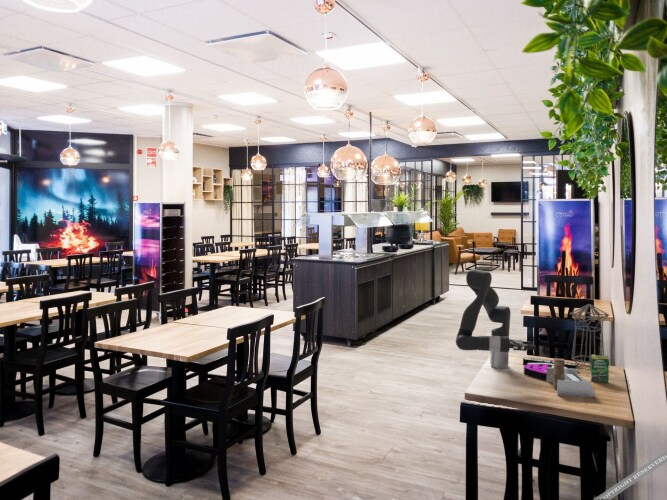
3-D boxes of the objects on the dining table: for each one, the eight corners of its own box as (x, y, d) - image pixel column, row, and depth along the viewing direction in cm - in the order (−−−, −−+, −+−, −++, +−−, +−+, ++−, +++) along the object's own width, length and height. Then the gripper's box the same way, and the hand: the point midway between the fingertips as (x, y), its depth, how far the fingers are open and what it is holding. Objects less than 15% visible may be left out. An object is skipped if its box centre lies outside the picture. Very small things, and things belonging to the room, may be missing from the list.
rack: (557, 395, 241) (558, 380, 240) (546, 381, 263) (546, 367, 263) (594, 397, 238) (594, 382, 238) (579, 383, 261) (579, 369, 260)
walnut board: (554, 389, 250) (555, 359, 250) (553, 387, 253) (554, 358, 253) (563, 389, 250) (564, 360, 249) (562, 387, 253) (562, 358, 252)
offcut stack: (572, 393, 244) (572, 380, 244) (564, 386, 256) (564, 373, 256) (580, 394, 244) (581, 381, 244) (572, 386, 256) (572, 374, 256)
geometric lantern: (580, 362, 300) (582, 301, 298) (609, 369, 287) (611, 304, 286) (566, 367, 290) (567, 303, 289) (594, 373, 278) (596, 307, 276)
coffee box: (590, 381, 264) (591, 355, 263) (590, 379, 266) (590, 354, 266) (608, 383, 260) (609, 357, 260) (608, 381, 263) (608, 355, 262)
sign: (524, 363, 298) (515, 377, 272) (524, 357, 298) (515, 369, 272) (577, 370, 286) (573, 384, 259) (577, 363, 286) (573, 377, 259)
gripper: (500, 339, 248) (537, 340, 245) (496, 333, 262) (531, 335, 259) (500, 354, 248) (536, 356, 245) (496, 348, 262) (530, 350, 259)
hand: (533, 345), depth 252 cm, fingers open, 8 cm apart
